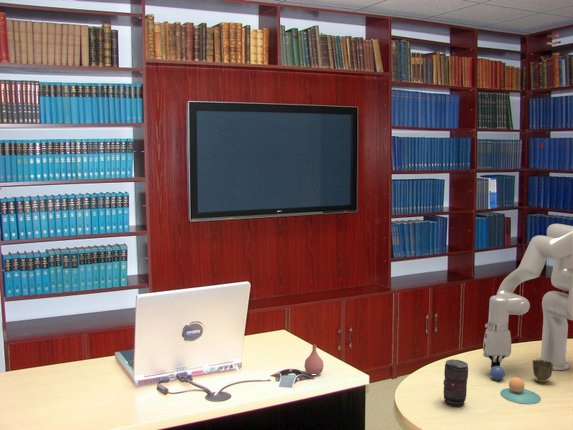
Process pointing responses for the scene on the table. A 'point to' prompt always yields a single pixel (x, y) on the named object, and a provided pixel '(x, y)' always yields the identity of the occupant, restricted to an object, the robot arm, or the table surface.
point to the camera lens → (455, 382)
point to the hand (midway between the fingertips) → (495, 370)
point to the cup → (542, 370)
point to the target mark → (520, 396)
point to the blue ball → (497, 372)
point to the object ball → (516, 385)
